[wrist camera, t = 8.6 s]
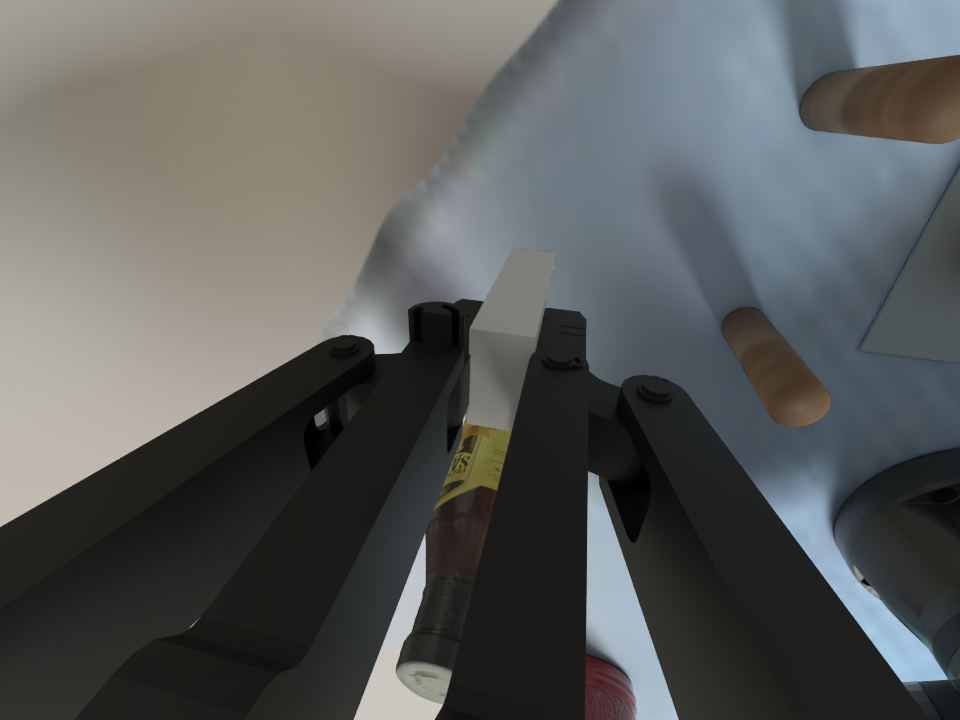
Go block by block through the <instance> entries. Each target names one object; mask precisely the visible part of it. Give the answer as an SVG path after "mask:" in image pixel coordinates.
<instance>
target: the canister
mask: <svg viewBox="0 0 960 720" xmlns="http://www.w3.org/2000/svg"><path fill="white" fill-rule="evenodd" d="M636 713H637V709H636V699H635V696H634V693H633V688H632V684H631V682H630V681H629V679H628V678H627V677H626V676H625V675H624V674H623V673H622V672H621V671H620V670H618V669H617V668H615V667H614V666H612V665H610V664H608V663H606V662H604V661H602V660H599V659H596V658H593V657H589V656H586V683H585V720H636V718H635V717H636Z"/></svg>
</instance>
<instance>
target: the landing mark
mask: <svg viewBox="0 0 960 720" xmlns="http://www.w3.org/2000/svg"><path fill="white" fill-rule="evenodd" d="M858 350H859V351H864V352H872V353H880V354H888V355H897V356H905V357H913V358H921V359H929V360H937V361H946V362H954V363H960V166H959V168H958V170H957V171H956V173H955V175H954V177H953V179H952V181H951V182H950V184H949V186H948V188H947V190H946V191H945V193H944V195H943V197H942V199H941V200H940V202H939V204H938V206H937V208H936V209H935V211H934V213H933V215H932V217H931V219H930V220H929V222H928V224H927V226H926V228H925V229H924V231H923V233H922V235H921V237H920V238H919V240H918V242H917V244H916V246H915V248H914V249H913V251H912V253H911V255H910V257H909V258H908V260H907V262H906V264H905V266H904V267H903V269H902V271H901V273H900V275H899V276H898V278H897V280H896V282H895V284H894V286H893V287H892V289H891V291H890V293H889V295H888V296H887V298H886V300H885V302H884V304H883V305H882V307H881V309H880V311H879V313H878V315H877V316H876V318H875V320H874V322H873V324H872V325H871V327H870V329H869V331H868V333H867V334H866V336H865V338H864V340H863V342H862V343H861V345H860V347H859V349H858Z"/></svg>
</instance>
